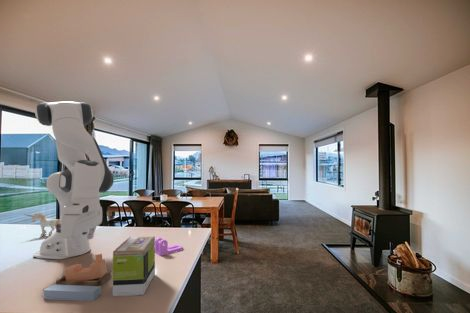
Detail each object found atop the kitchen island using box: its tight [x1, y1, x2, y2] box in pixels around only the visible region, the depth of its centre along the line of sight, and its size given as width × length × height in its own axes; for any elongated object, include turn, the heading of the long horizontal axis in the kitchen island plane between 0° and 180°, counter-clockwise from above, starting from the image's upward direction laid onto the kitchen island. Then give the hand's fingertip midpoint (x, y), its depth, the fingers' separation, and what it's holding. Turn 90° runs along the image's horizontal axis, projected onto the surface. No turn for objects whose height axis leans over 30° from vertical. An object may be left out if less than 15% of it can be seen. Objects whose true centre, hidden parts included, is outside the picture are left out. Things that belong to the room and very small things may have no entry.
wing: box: [43, 284, 101, 302], centre depth 76 cm, size 16×4×3 cm, turn 87°
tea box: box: [112, 235, 156, 297], centre depth 84 cm, size 15×10×15 cm, turn 5°
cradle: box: [55, 270, 112, 287], centre depth 86 cm, size 15×8×2 cm, turn 93°
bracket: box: [155, 237, 184, 257], centre depth 117 cm, size 13×6×7 cm, turn 133°
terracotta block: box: [64, 253, 108, 281], centre depth 86 cm, size 12×4×8 cm, turn 94°
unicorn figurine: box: [25, 212, 61, 237], centre depth 142 cm, size 7×20×13 cm, turn 100°
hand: (82, 242), depth 87 cm, fingers open, 8 cm apart
